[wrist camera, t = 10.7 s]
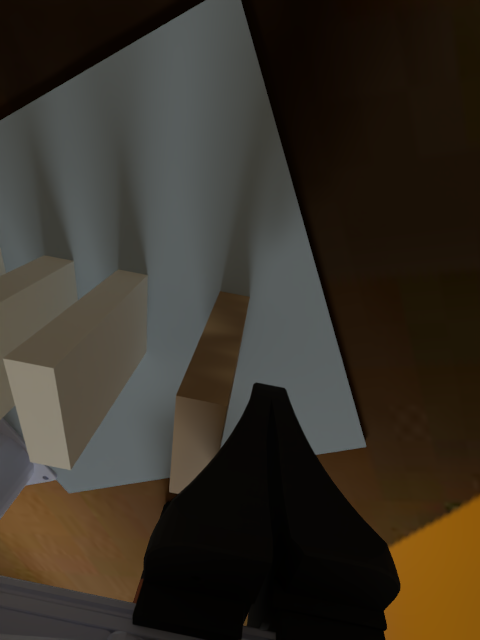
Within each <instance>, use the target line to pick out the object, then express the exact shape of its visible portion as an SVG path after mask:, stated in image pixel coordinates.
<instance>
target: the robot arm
mask: <svg viewBox="0 0 480 640" xmlns="http://www.w3.org/2000/svg"><path fill="white" fill-rule="evenodd" d="M56 479H57V474H56V473H55V472H54V471H53V470H52V469H51V468H50V467H49V466H47V465H42V464H37V463H32V462H30V459H29V455H28V451H27V448H26V444H25V441H24V439H23V438H22V437H21V436H20V435H19V434H18V433H17V432H16V431H15V430H14V429H13V428H12V427H11V426H10V425H9V424H8V423H7V421H6V420H5V419H4V418H2V419H1V420H0V519H1V517H2V516H3V515H4V513H5V512H6V511H7V509H8V508H9V507H10V505H11V504H12V503H13V501H14V500H15V499H16V497H17V496H18V495H19V493H20V492H21V491H22V489H23V488H24V487H25V485H31V484H36V483H42V482H48V481H54V480H56ZM399 591H400V581H399V577H398V574H397V570H396V567H395V564H394V561H393V558H392V556H391V553H390V551H389V548H388V546H387V543H386V542H385V541H384V540H383V539H382V538H381V537H380V536H379V535H378V534H377V533H376V532H375V531H374V530H373V529H372V528H371V527H370V526H369V525H368V524H367V523H366V522H365V521H364V519H363V518H362V517H361V516H360V515H359V514H358V513H357V511H356V510H355V509H354V508H353V507H352V506H351V504H350V503H349V502H348V501H347V499H346V498H345V497H344V495H343V494H342V493H341V492H340V490H339V489H338V488H337V486H336V485H335V484H334V482H333V481H332V480H331V478H330V477H329V475H328V474H327V472H326V471H325V469H324V468H323V466H322V464H321V463H320V461H319V460H318V458H317V456H316V455H315V453H314V451H313V449H312V448H311V446H310V444H309V442H308V440H307V438H306V436H305V434H304V432H303V430H302V428H301V426H300V424H299V422H298V419H297V417H296V415H295V412H294V410H293V407H292V405H291V402H290V399H289V396H288V393H287V390H286V389H285V388H283V387H278V386H273V385H268V384H262V383H257V382H256V383H254V384H253V388H252V392H251V396H250V399H249V402H248V404H247V406H246V408H245V410H244V412H243V414H242V416H241V418H240V420H239V422H238V423H237V425H236V427H235V428H234V430H233V432H232V433H231V435H230V436H229V438H228V439H227V441H226V442H225V443H224V445H223V446H222V447H221V449H220V450H219V451H218V452H217V454H216V455H215V456H214V458H213V459H212V460H211V461H210V462H209V463H208V465H207V466H206V467H205V468H204V469H203V470H202V471H201V472H200V473H199V474H198V475H197V476H196V478H195V479H194V480H193V481H192V482H191V483H190V484H189V485H188V486H186V487H185V488H184V489H183V490H182V491H181V492H180V493H179V494H178V495H177V496H176V497H174V498H173V499H172V501H171V502H170V504H169V505H168V507H167V508H166V510H165V511H164V513H163V515H162V516H161V518H160V519H159V521H158V523H157V525H156V526H155V528H154V530H153V533H152V535H151V537H150V540H149V543H148V547H147V550H146V553H145V557H144V577H143V583H142V586H141V589H140V593H139V596H138V599H137V602H136V603H131V602H126V601H121V600H116V599H112V598H107V597H102V596H97V595H92V594H87V593H82V592H78V591H73V590H68V589H63V588H58V587H53V586H49V585H44V584H39V583H34V582H29V581H24V580H20V579H15V578H10V577H5V576H0V640H385V636H384V631H385V630H386V629H387V624H386V620H385V615H384V610H385V608H387V607H388V605H389V604H390V603H391V602H392V601H393V600H394V599H395V598H396V596H397V595H398V593H399ZM248 612H249V613H248ZM247 614H248V622H247V626H243V624H244V621H245V619H246V617H247Z"/></svg>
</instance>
